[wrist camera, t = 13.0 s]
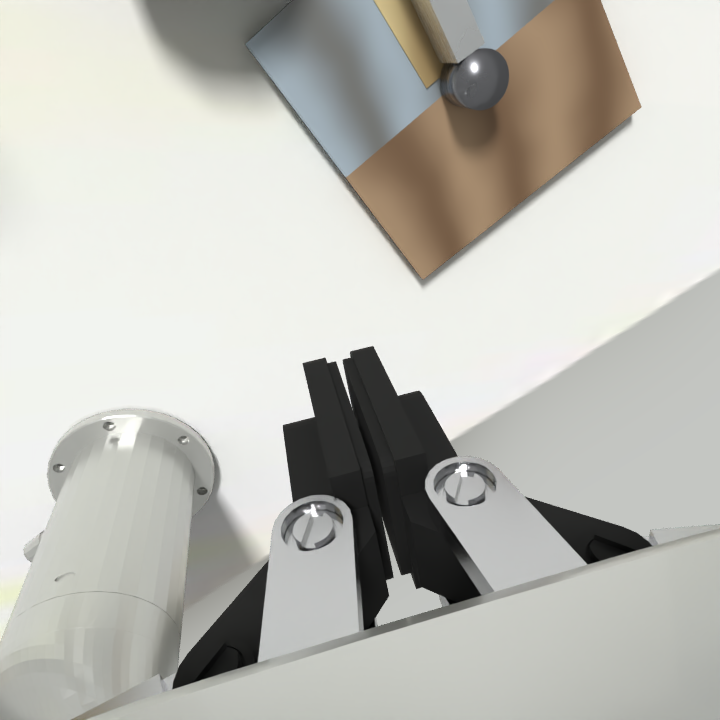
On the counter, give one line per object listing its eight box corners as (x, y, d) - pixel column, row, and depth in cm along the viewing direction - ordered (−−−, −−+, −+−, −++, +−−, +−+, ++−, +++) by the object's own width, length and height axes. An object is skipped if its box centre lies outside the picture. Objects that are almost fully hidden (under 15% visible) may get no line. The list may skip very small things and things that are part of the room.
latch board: (418, 274, 41) (423, 280, 40) (245, 44, 32) (245, 44, 31) (630, 105, 38) (642, 107, 37) (509, -202, 29) (520, -213, 28)
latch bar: (496, 86, 34) (517, 89, 32) (454, 117, 35) (471, 121, 32) (417, -98, 29) (434, -113, 26) (368, -59, 29) (381, -71, 27)
